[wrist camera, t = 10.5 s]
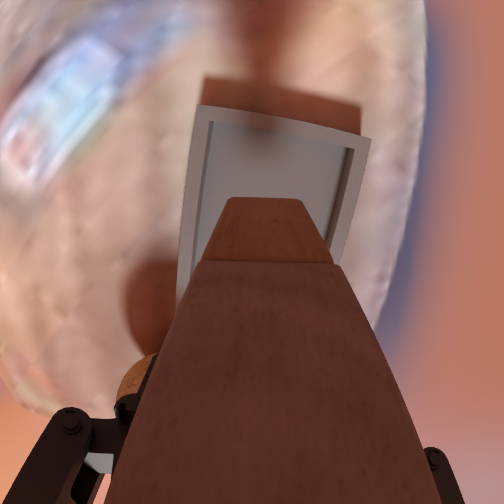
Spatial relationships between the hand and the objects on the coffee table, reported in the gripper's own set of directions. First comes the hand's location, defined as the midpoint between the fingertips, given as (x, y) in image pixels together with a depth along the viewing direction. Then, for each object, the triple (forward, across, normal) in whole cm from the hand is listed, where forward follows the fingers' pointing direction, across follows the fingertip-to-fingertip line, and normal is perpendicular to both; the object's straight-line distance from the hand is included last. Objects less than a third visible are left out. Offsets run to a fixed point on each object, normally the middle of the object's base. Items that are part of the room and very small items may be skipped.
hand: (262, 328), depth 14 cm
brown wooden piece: (+3, 0, 0) cm, 3 cm away
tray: (+16, 0, 0) cm, 16 cm away
